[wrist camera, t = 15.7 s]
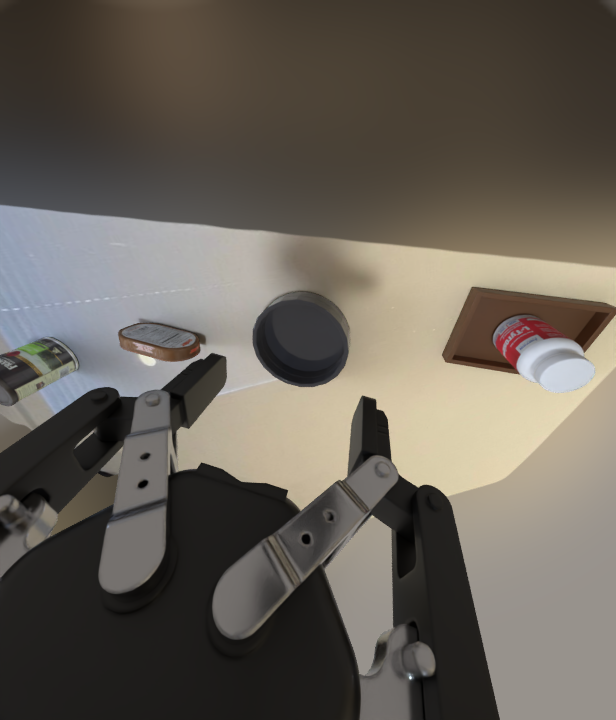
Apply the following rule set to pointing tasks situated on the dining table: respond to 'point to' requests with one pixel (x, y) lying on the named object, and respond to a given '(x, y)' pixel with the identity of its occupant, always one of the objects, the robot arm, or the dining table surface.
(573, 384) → the pill bottle
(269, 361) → the bowl
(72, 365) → the coffee can
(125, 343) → the tin
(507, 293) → the tray
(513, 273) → the dining table surface
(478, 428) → the dining table surface
